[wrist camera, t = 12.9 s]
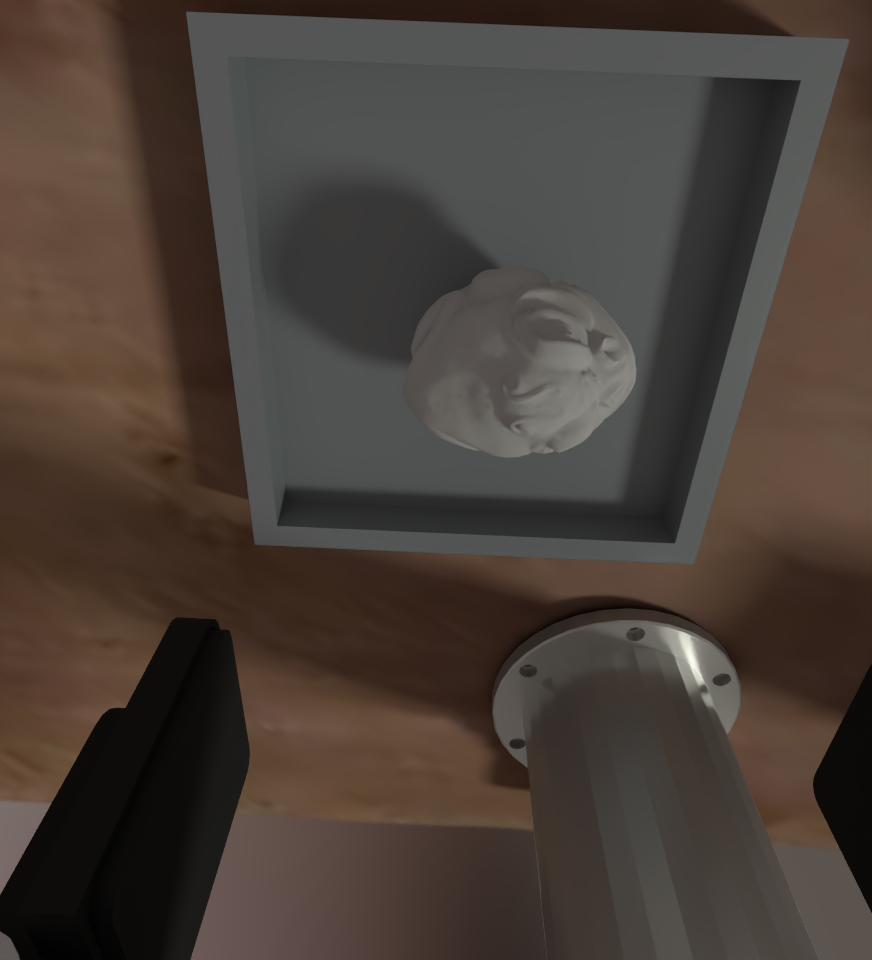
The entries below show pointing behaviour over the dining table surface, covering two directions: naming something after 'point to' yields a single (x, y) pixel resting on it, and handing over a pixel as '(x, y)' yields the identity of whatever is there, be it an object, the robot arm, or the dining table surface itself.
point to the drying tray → (495, 260)
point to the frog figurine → (517, 365)
